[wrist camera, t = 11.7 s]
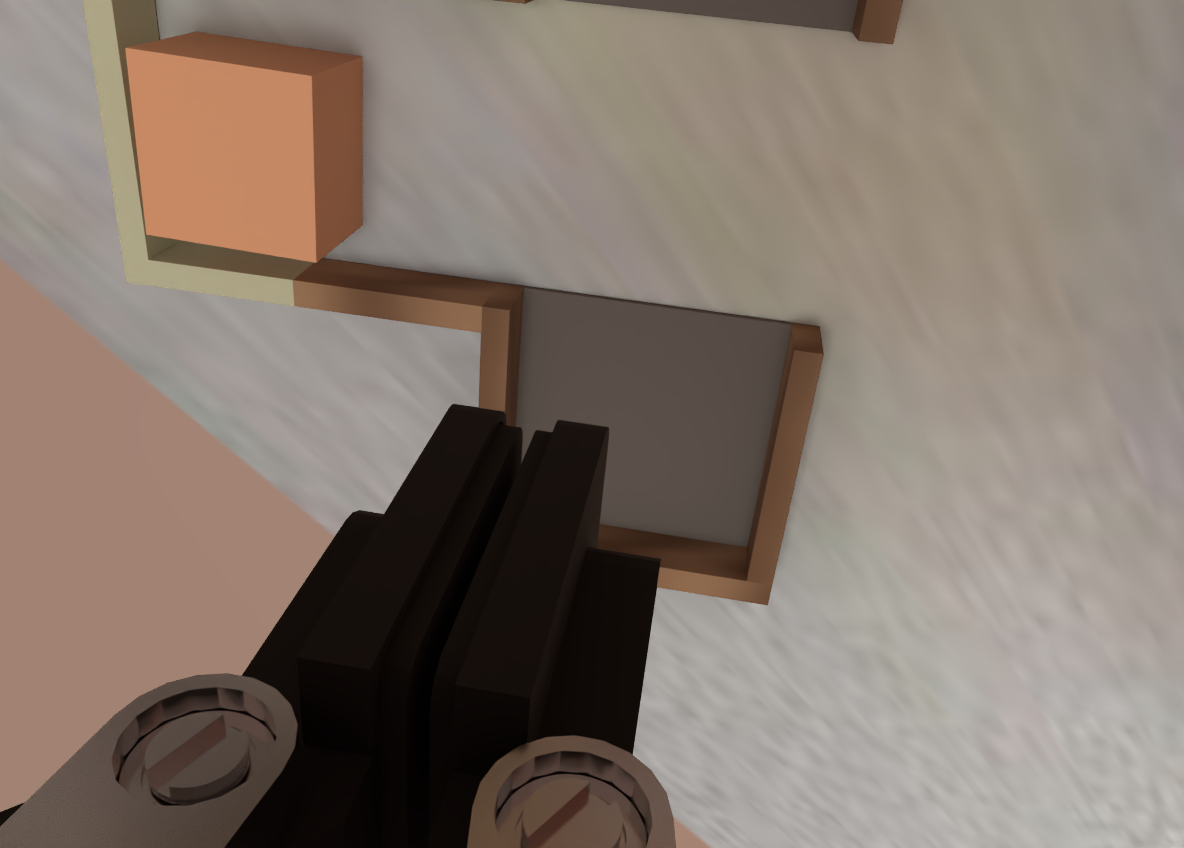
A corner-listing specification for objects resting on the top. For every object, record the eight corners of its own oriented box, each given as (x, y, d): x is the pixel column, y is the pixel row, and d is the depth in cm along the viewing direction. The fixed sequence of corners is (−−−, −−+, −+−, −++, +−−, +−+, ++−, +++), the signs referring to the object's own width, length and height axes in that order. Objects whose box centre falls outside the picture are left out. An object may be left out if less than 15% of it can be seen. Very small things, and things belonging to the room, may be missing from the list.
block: (364, 55, 33) (311, 75, 29) (364, 224, 36) (316, 262, 32) (198, 31, 34) (125, 48, 30) (211, 199, 37) (146, 234, 33)
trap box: (981, -417, 25) (1003, -448, 23) (767, 567, 40) (767, 605, 38) (62, -480, 27) (3, -513, 25) (191, 475, 43) (161, 505, 41)
